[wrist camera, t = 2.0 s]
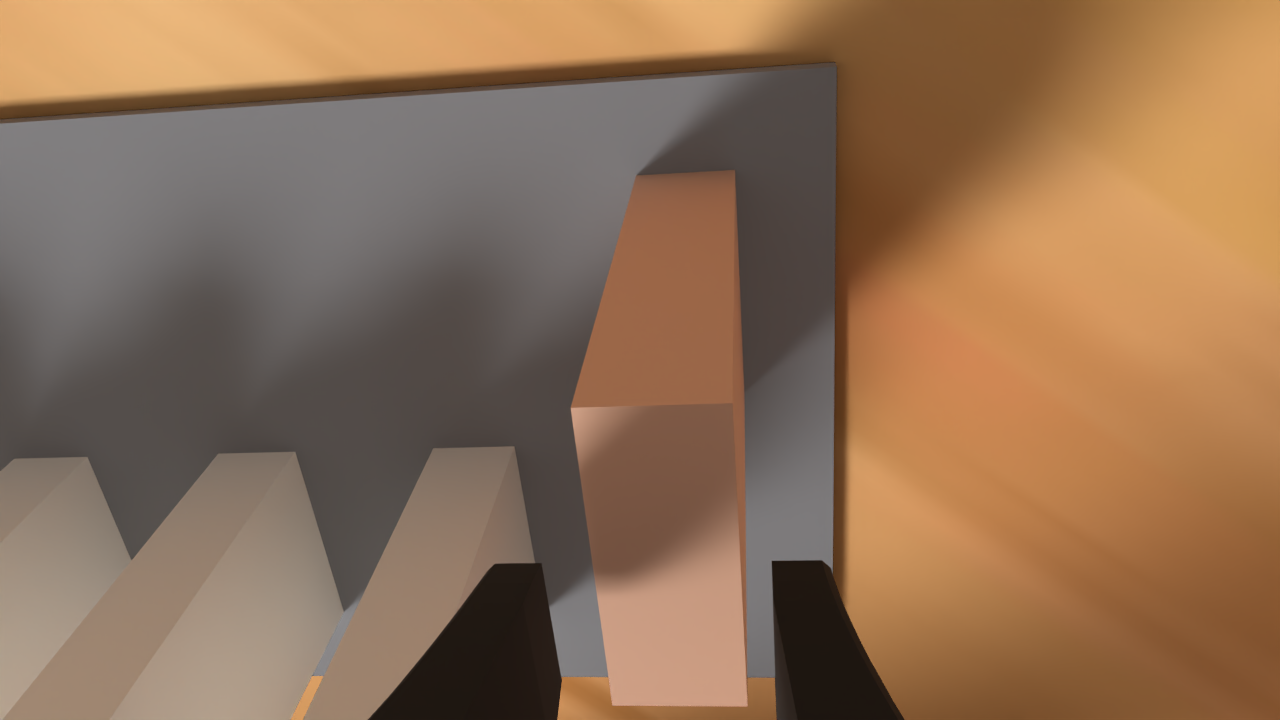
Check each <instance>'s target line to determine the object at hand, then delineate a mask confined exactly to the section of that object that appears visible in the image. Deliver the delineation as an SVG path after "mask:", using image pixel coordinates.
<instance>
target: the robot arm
mask: <svg viewBox="0 0 1280 720" xmlns="http://www.w3.org/2000/svg"><path fill="white" fill-rule="evenodd" d="M772 590H773V624H774V657H775V688H776V714H777V720H904V718H903V716H902V715H901V713H900V712H899V710H898V708H897V707H896V705H895V703H894V702H893V700H892V698H891V696H890V695H889V693H888V691H887V689H886V688H885V686H884V684H883V682H882V680H881V679H880V677H879V675H878V673H877V672H876V670H875V668H874V666H873V664H872V663H871V661H870V659H869V657H868V655H867V653H866V651H865V649H864V647H863V645H862V644H861V642H860V639H859V637H858V635H857V633H856V631H855V629H854V627H853V625H852V623H851V621H850V618H849V616H848V614H847V612H846V609H845V607H844V605H843V602H842V600H841V597H840V595H839V592H838V589H837V586H836V584H835V581H834V578H833V574H832V570H831V568H830V567H829V566H828V565H827V564H826V563H825V562H823V561H822V560H795V561H772ZM561 682H562V679H561V673H560V667H559V661H558V656H557V650H556V644H555V638H554V632H553V627H552V621H551V615H550V609H549V603H548V598H547V592H546V586H545V580H544V574H543V569H542V563H499V564H494V565H493V566H492V567H491V568H490V569H489V570H488V571H487V572H486V574H485V575H484V576H483V578H482V579H481V580H480V582H479V583H478V584H477V586H476V587H475V588H474V590H473V591H472V592H471V594H470V595H469V596H468V598H467V599H466V600H465V602H464V603H463V604H462V606H461V607H460V608H459V610H458V611H457V612H456V614H455V615H454V616H453V618H452V619H451V620H450V622H449V623H448V624H447V625H446V627H445V628H444V629H443V631H442V632H441V633H440V634H439V636H438V637H437V638H436V640H435V641H434V642H433V643H432V645H431V646H430V647H429V648H428V650H427V651H426V652H425V653H424V654H423V656H422V657H421V658H420V659H419V661H418V662H417V663H416V664H415V665H414V667H413V668H412V669H411V670H410V672H409V673H408V674H407V675H406V676H405V678H404V679H403V680H402V681H401V683H400V684H399V685H398V686H397V687H396V689H395V690H394V691H393V692H392V693H391V694H390V696H389V697H388V698H387V699H386V700H385V701H384V702H383V703H382V704H381V706H380V707H379V708H378V709H377V710H376V711H375V712H374V713H373V714H372V715H371V717H370V718H369V719H368V720H557V716H558V707H559V699H560V691H561Z"/></svg>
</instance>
